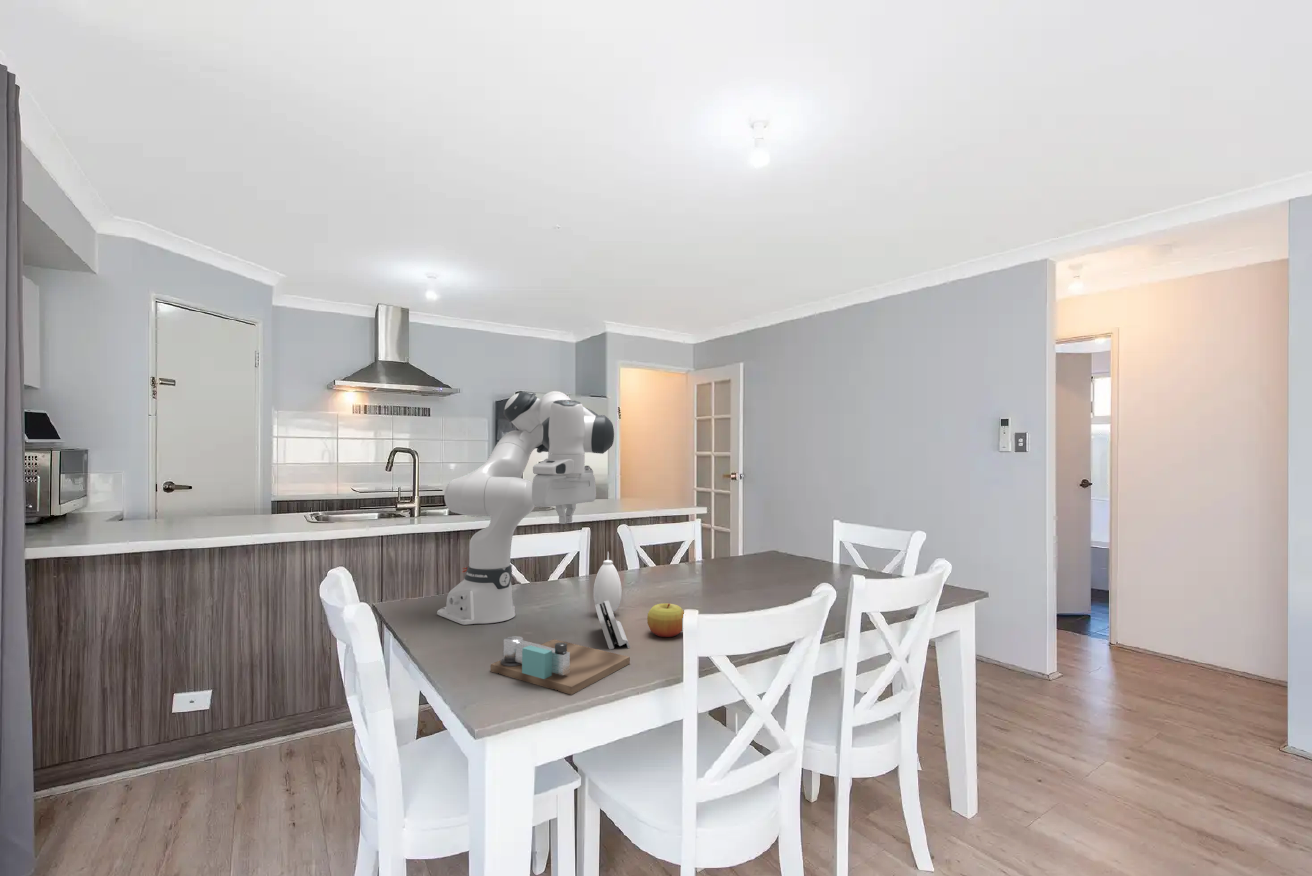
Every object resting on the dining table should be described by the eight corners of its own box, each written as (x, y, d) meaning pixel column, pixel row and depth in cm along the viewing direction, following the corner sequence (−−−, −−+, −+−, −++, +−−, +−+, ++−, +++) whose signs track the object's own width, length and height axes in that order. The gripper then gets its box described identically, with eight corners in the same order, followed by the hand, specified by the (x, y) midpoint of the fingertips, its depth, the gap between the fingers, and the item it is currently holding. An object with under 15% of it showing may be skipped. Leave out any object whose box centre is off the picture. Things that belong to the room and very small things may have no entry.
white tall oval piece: (588, 613, 173) (589, 550, 173) (611, 609, 177) (612, 548, 178) (602, 620, 166) (603, 554, 167) (626, 616, 171) (627, 552, 171)
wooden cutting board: (490, 671, 128) (490, 662, 128) (553, 645, 145) (553, 637, 145) (571, 694, 116) (571, 685, 116) (629, 663, 133) (629, 655, 134)
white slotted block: (630, 648, 144) (616, 609, 143) (611, 656, 143) (597, 616, 142) (622, 627, 160) (610, 592, 160) (605, 634, 159) (593, 598, 159)
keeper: (521, 672, 123) (522, 648, 123) (529, 669, 125) (529, 645, 125) (544, 679, 120) (544, 653, 120) (551, 675, 122) (552, 650, 122)
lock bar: (499, 659, 129) (499, 633, 129) (513, 654, 132) (513, 628, 132) (559, 676, 120) (559, 648, 120) (572, 670, 123) (573, 643, 123)
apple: (683, 641, 149) (684, 609, 149) (644, 639, 150) (644, 607, 151) (686, 629, 159) (686, 599, 159) (649, 627, 160) (650, 597, 160)
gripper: (582, 465, 158) (582, 518, 158) (527, 466, 140) (526, 526, 140) (602, 465, 154) (601, 519, 154) (548, 467, 137) (547, 528, 137)
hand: (565, 523), depth 147 cm, fingers closed
